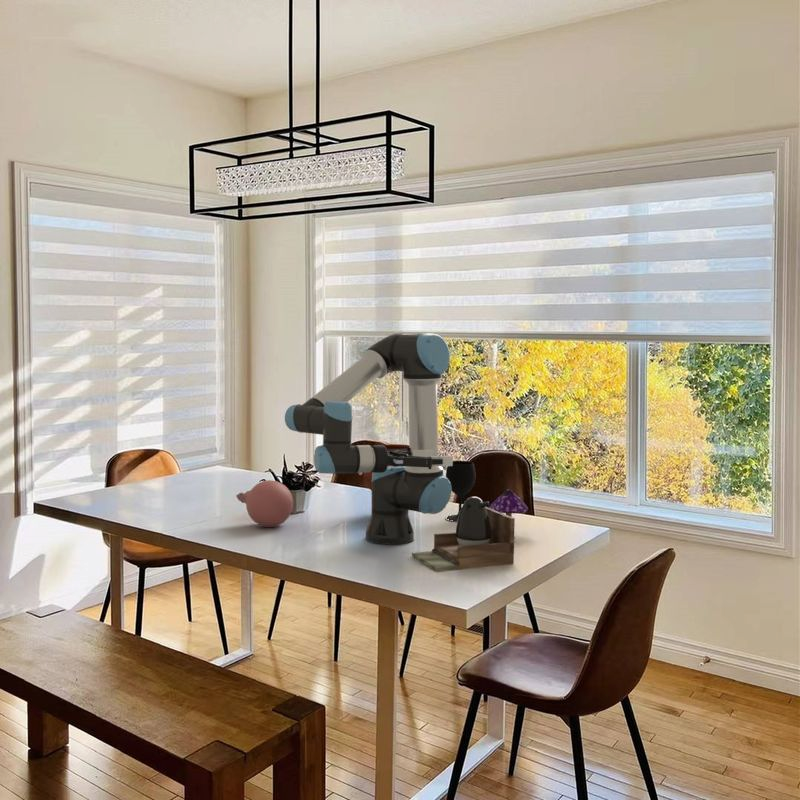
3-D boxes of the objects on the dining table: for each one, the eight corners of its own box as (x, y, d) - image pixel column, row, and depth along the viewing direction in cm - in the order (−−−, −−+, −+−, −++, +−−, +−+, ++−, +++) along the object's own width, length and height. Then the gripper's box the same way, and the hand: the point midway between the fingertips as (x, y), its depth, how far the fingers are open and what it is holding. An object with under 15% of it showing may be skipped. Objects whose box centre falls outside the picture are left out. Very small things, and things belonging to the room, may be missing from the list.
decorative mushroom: (529, 532, 279) (530, 487, 278) (525, 541, 267) (526, 494, 266) (492, 529, 282) (492, 485, 281) (485, 538, 270) (486, 491, 269)
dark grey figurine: (476, 555, 237) (477, 501, 236) (448, 548, 244) (449, 496, 243) (498, 548, 245) (499, 496, 244) (469, 542, 252) (470, 491, 251)
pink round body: (249, 518, 294) (249, 474, 293) (301, 523, 287) (301, 478, 286) (225, 527, 280) (225, 481, 278) (279, 533, 273) (279, 486, 272)
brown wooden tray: (412, 556, 247) (412, 512, 246) (485, 549, 256) (486, 506, 255) (436, 571, 231) (437, 524, 230) (513, 563, 240) (514, 518, 239)
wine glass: (465, 523, 291) (467, 465, 289) (439, 519, 296) (440, 463, 295) (480, 518, 299) (481, 462, 298) (454, 514, 305) (455, 459, 303)
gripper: (356, 466, 244) (425, 464, 251) (385, 479, 221) (460, 477, 228) (357, 440, 243) (425, 439, 251) (386, 450, 220) (461, 449, 228)
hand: (442, 457), depth 240 cm, fingers open, 13 cm apart
